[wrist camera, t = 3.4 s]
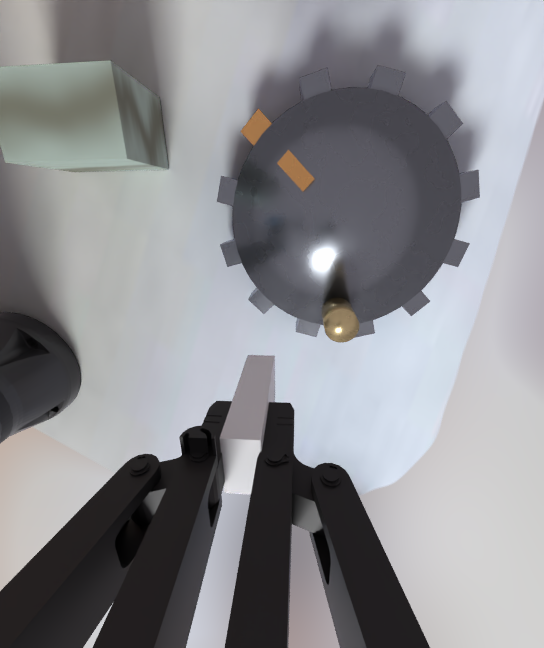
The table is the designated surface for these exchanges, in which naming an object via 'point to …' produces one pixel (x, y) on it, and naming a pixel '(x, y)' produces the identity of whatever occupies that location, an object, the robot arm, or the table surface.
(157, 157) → the link block
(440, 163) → the sprocket wheel
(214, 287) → the table surface
